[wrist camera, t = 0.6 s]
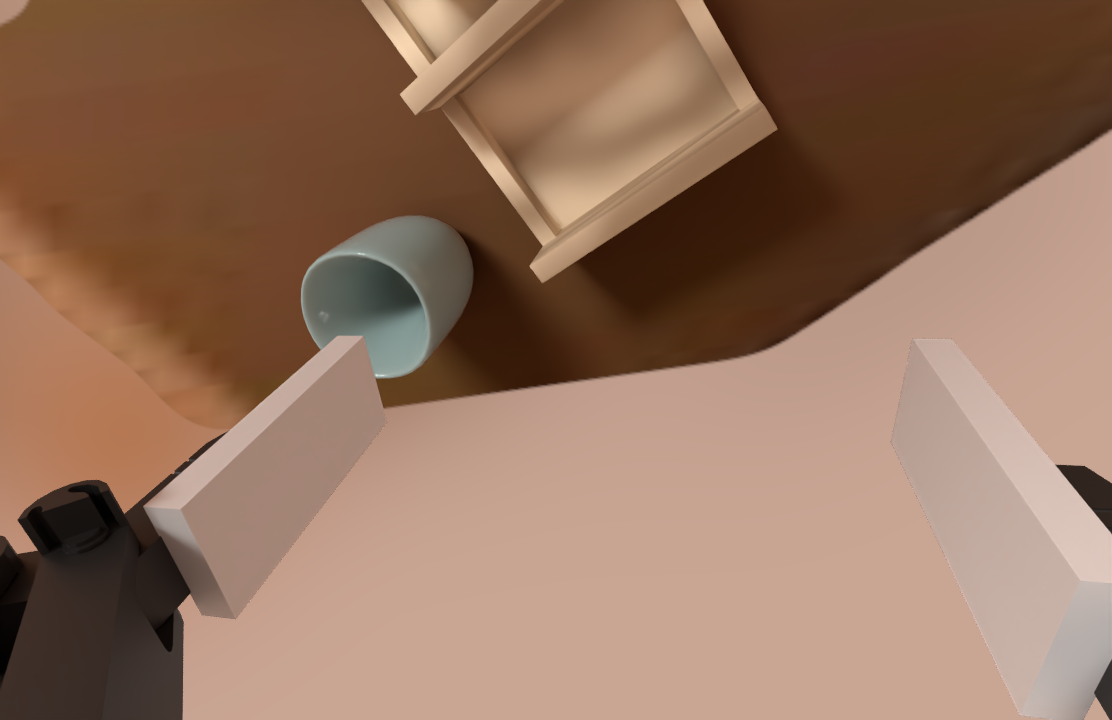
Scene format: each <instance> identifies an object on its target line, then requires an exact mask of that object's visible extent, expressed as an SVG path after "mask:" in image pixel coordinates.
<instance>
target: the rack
mask: <svg viewBox="0 0 1112 720" xmlns="http://www.w3.org/2000/svg"><path fill="white" fill-rule="evenodd" d="M362 2H363V3H364V5H365V6H366V7H367V9H368V10H369V11H370V13H371V14H372V15H373V17H374V18H375V19H376V21H377V22H378V23H379V25H380V26H381V28H382V29H383V30H384V32H385V33H386V34H387V36H388V37H389V38H390V40H391V41H392V42H393V44H394V45H395V47H396V48H397V49H398V51H399V52H400V53H401V55H402V56H403V57H404V59H405V60H406V61H407V63H408V64H409V65H410V67H411V68H412V70H413V71H414V72H415V74H416V75H417V76H418V78H417V79H415V80H414V81H413V82H412V83H411V84H410V85H409V86H408V87H407V88H406V89H405V90H404V91H403V92H402V93H401V94H400V95H401V97H402V98H403V99H404V101H405V102H406V103H407V105H408V106H409V107H410V109H411V110H412V111H413V113H414V114H415V115H418V114H421V113H424V112H427V111H430V110H433V109H436V108H439V107H441V109H442V110H443V111H444V113H445V114H446V116H447V117H448V118H449V120H450V121H451V122H452V124H453V125H454V126H455V128H456V129H457V130H458V132H459V133H460V134H461V136H462V137H463V139H464V140H465V141H466V143H467V144H468V145H469V147H470V148H471V149H472V151H473V152H474V153H475V155H476V156H477V157H478V159H479V160H480V162H481V163H482V164H483V166H484V167H485V168H486V170H487V171H488V172H489V174H490V175H491V176H492V178H493V179H494V180H495V182H496V183H497V185H498V186H499V187H500V189H501V190H502V191H503V193H504V194H505V195H506V197H507V198H508V199H509V201H510V202H511V203H512V205H513V206H514V208H515V209H516V210H517V212H518V213H519V214H520V216H521V217H522V218H523V220H524V221H525V222H526V224H527V225H528V227H529V228H530V229H531V231H532V232H533V233H534V235H535V236H536V237H537V239H538V240H539V241H540V243H541V244H542V245H543V247H542V249H541V250H540V251H539V253H538V254H537V256H536V257H535V259H534V260H533V262H532V263H531V265H530V267H531V269H532V270H533V271H534V273H535V274H536V275H537V277H538V278H539V279H540V281H541V282H542V283H544V282H545V281H547V280H548V279H550V278H551V277H553V276H554V275H556V274H557V273H559V272H560V271H562V270H563V269H565V268H566V267H568V266H570V265H571V264H573V263H574V262H576V261H577V260H579V259H580V258H582V257H583V256H585V255H586V254H588V253H589V252H591V251H592V250H594V249H595V248H597V247H599V246H600V245H602V244H603V243H605V242H606V241H608V240H609V239H611V238H612V237H614V236H615V235H617V234H618V233H620V232H621V231H623V230H624V229H626V228H628V227H629V226H631V225H632V224H634V223H635V222H637V221H638V220H640V219H641V218H643V217H644V216H646V215H647V214H649V213H650V212H652V211H654V210H655V209H657V208H658V207H660V206H661V205H663V204H664V203H666V202H667V201H669V200H670V199H672V198H673V197H675V196H676V195H678V194H679V193H681V192H683V191H684V190H686V189H687V188H689V187H690V186H692V185H693V184H695V183H696V182H698V181H699V180H701V179H702V178H704V177H705V176H707V175H708V174H710V173H712V172H713V171H715V170H716V169H718V168H719V167H721V166H722V165H724V164H725V163H727V162H728V161H730V160H731V159H733V158H734V157H736V156H738V155H739V154H741V153H742V152H744V151H745V150H747V149H748V148H750V147H751V146H753V145H754V144H756V143H757V142H759V141H760V140H762V139H763V138H765V137H767V136H768V135H770V134H771V133H773V132H774V131H776V130H777V127H776V125H775V123H774V122H773V120H772V118H771V116H770V114H769V113H768V111H767V109H766V107H765V106H764V105H763V104H762V102H761V101H760V100H759V99H758V98H757V96H756V94H755V92H754V90H753V89H752V87H751V85H750V83H749V82H748V80H747V78H746V76H745V75H744V73H743V71H742V69H741V67H740V66H739V64H738V62H737V60H736V59H735V57H734V55H733V53H732V52H731V50H730V48H729V46H728V44H727V43H726V41H725V39H724V37H723V36H722V34H721V32H720V30H719V29H718V27H717V25H716V23H715V21H714V20H713V18H712V16H711V14H710V13H709V11H708V9H707V7H706V6H705V4H704V2H703V0H362Z"/></svg>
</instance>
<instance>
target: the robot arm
mask: <svg viewBox="0 0 1112 720" xmlns="http://www.w3.org/2000/svg"><path fill="white" fill-rule="evenodd" d="M386 423H387V421H386V417H385V414H384V409H383V406H382V402H381V398H380V395H379V391H378V387H377V383H376V380H375V376H374V372H373V369H372V365H371V361H370V358H369V354H368V350H367V346H366V343H365V339H364V336H337V337H336V338H335V339H333V340H332V341H331V342H330V343H329V344H328V345H327V346H325V347H324V348H323V349H322V350H321V351H320V352H319V353H317V354H316V355H315V356H314V357H313V358H312V359H311V360H309V361H308V362H307V363H306V364H305V365H304V366H303V367H301V368H300V369H299V370H298V371H297V372H296V373H295V374H293V375H292V376H291V377H290V378H289V379H288V380H287V381H285V382H284V383H283V384H282V385H281V386H280V387H279V388H278V389H276V390H275V391H274V392H273V393H272V394H271V395H270V396H268V397H267V398H266V399H265V400H264V401H263V402H262V403H260V404H259V405H258V406H257V407H256V408H255V409H254V410H252V411H251V412H250V413H249V414H248V415H247V416H246V417H244V418H243V419H242V420H241V421H240V422H239V423H238V424H236V425H235V426H234V427H233V428H232V429H231V430H229V431H227V432H226V433H224V434H222V435H220V436H219V437H217V438H215V439H213V440H211V441H210V442H208V443H206V444H205V445H204V446H203V447H202V448H200V449H199V450H198V451H197V452H196V453H195V454H193V455H192V456H191V457H190V458H189V461H188V462H187V461H186V462H184V463H183V464H182V465H181V466H180V467H179V468H177V469H176V470H175V473H174V474H170V475H169V476H168V477H167V478H166V479H165V480H163V481H162V482H161V483H160V484H159V485H158V486H156V487H155V488H154V489H153V490H152V491H151V492H149V493H148V494H147V495H146V496H145V497H144V498H142V499H141V500H140V501H139V502H138V503H137V504H136V505H134V506H133V507H132V508H131V509H130V510H129V511H127V512H126V513H125V514H124V513H123V511H122V509H121V508H120V506H119V504H118V502H117V501H116V499H115V497H114V495H113V493H112V492H111V490H110V488H109V486H108V485H107V483H105V482H102V481H100V480H86V481H81V482H78V483H73V484H69V485H67V486H65V487H62V488H59V489H57V490H54V491H52V492H50V493H49V494H47V495H45V496H43V497H42V498H40V499H38V500H37V501H35V502H34V503H33V504H32V505H30V506H29V507H28V508H27V509H26V510H24V512H23V513H22V514H21V516H20V517H19V519H18V522H19V523H20V524H21V525H22V527H23V529H24V530H25V532H26V533H27V535H28V536H29V538H30V539H31V541H32V542H33V543H34V545H35V546H36V548H37V549H38V551H34V552H27V553H21V554H17V553H16V552H15V550H14V549H13V548H12V546H11V545H10V543H9V542H8V540H7V539H6V538H5V537H3V536H0V720H182V713H183V626H184V625H183V624H184V622H183V619H182V616H181V614H180V612H179V610H178V606H179V605H180V604H181V603H182V602H183V601H184V600H185V599H186V597H187V596H188V595H189V594H191V596H192V598H193V600H194V602H195V603H196V605H197V607H198V609H199V611H200V612H201V614H202V615H205V616H213V617H222V618H230V619H236V618H237V617H238V615H239V614H240V613H241V612H242V611H243V609H244V608H245V607H246V605H247V604H248V603H249V601H250V600H251V599H252V598H253V596H254V595H255V594H256V592H257V591H258V590H259V588H260V587H261V586H262V585H263V583H264V582H265V581H266V579H267V578H268V576H269V575H270V574H271V573H272V571H273V570H274V569H275V567H276V566H277V565H278V564H279V562H280V561H281V560H282V558H283V557H284V556H285V555H286V553H287V552H288V551H289V549H290V548H291V547H292V545H293V544H294V543H295V542H296V540H297V539H298V538H299V536H300V535H301V534H302V532H303V531H304V530H305V528H306V527H307V526H308V525H309V523H310V522H311V521H312V519H313V518H314V517H315V516H316V514H317V513H318V512H319V510H320V509H321V508H322V506H323V505H324V504H325V503H326V501H327V500H328V499H329V497H330V496H331V495H332V493H333V492H334V491H335V490H336V488H337V487H338V485H339V484H340V483H341V482H342V480H343V479H344V478H345V476H346V475H347V474H348V473H349V471H350V470H351V469H352V467H353V466H354V465H355V463H356V462H357V461H358V460H359V458H360V457H361V456H362V454H363V453H364V452H365V450H366V449H367V448H368V447H369V445H370V444H371V443H372V441H373V440H374V439H375V437H376V436H377V435H378V434H379V432H380V431H381V430H382V428H383V427H384V426H385V424H386ZM891 443H892V446H893V448H894V449H895V452H896V454H897V456H898V458H899V460H900V463H901V465H902V467H903V469H904V471H905V473H906V475H907V477H908V479H909V481H910V484H911V486H912V488H913V490H914V492H915V494H916V496H917V499H918V501H919V503H920V505H921V507H922V509H923V511H924V513H925V516H926V518H927V520H928V522H929V524H930V526H931V528H932V530H933V532H934V535H935V537H936V539H937V541H938V543H939V545H940V547H941V549H942V552H943V554H944V556H945V558H946V560H947V562H948V564H949V566H950V568H951V571H952V573H953V575H954V577H955V579H956V581H957V583H958V586H959V588H960V590H961V592H962V594H963V596H964V598H965V600H966V603H967V605H968V607H969V609H970V611H971V613H972V615H973V617H974V620H975V622H976V624H977V626H978V628H979V630H980V632H981V634H982V636H983V639H984V641H985V643H986V645H987V647H988V649H989V651H990V653H991V656H992V658H993V660H994V662H995V664H996V666H997V668H998V670H999V672H1000V674H1001V676H1002V679H1003V681H1004V683H1005V685H1006V687H1007V690H1008V692H1009V694H1010V696H1011V698H1012V700H1013V702H1014V704H1015V706H1016V709H1017V711H1018V713H1019V715H1020V716H1027V717H1036V718H1044V719H1052V720H1084V718H1085V716H1086V714H1087V712H1088V710H1089V708H1090V706H1091V705H1092V703H1093V701H1094V699H1095V697H1097V699H1098V701H1099V702H1100V704H1101V706H1102V707H1103V709H1104V711H1105V712H1106V714H1107V716H1108V717H1109V719H1110V720H1112V483H1110V482H1109V481H1107V480H1105V479H1104V478H1102V477H1101V476H1099V475H1098V474H1096V473H1095V472H1093V471H1092V470H1090V469H1088V468H1087V467H1085V466H1071V465H1055V464H1054V463H1053V462H1052V461H1051V459H1050V458H1049V457H1048V456H1047V455H1046V453H1045V452H1044V451H1043V450H1042V449H1041V447H1040V446H1039V445H1038V444H1037V442H1036V441H1035V440H1034V439H1033V437H1032V436H1031V435H1030V434H1029V433H1028V431H1027V430H1026V429H1025V428H1024V426H1023V425H1022V424H1021V423H1020V422H1019V420H1018V419H1017V418H1016V417H1015V416H1014V414H1013V413H1012V412H1011V411H1010V409H1009V408H1008V407H1007V406H1006V405H1005V403H1004V402H1003V401H1002V400H1001V398H1000V397H999V396H998V395H997V393H996V392H995V391H994V390H993V389H992V387H991V386H990V385H989V384H988V382H987V381H986V380H985V379H984V378H983V376H982V375H981V374H980V373H979V372H978V370H977V369H976V368H975V367H974V365H973V364H972V363H971V362H970V361H969V359H968V358H967V357H966V356H965V355H964V353H963V352H962V351H961V350H960V348H959V347H958V346H957V345H956V343H955V342H954V341H953V340H952V339H912V343H911V347H910V352H909V357H908V362H907V366H906V371H905V377H904V381H903V386H902V391H901V395H900V401H899V405H898V410H897V415H896V420H895V424H894V429H893V434H892V439H891Z"/></svg>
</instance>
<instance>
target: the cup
mask: <svg viewBox="0 0 1112 720" xmlns="http://www.w3.org/2000/svg"><path fill="white" fill-rule="evenodd" d="M472 286H473V263H472V257H471V254H470V252H469V249H468V246H467V245H466V243H465V241H464V240H463V238H462V237H461V235H460V234H459V233H458V232H457V231H456V230H455V229H454V228H452V227H451V226H450V225H448V224H447V223H445V222H443V221H441V220H439V219H435V218H432V217H428V216H419V215H408V216H399V217H395V218H391V219H388V220H384V221H381V222H379V223H376V224H374V225H372V226H370V227H368V228H366V229H365V230H363V231H361V232H359V233H357V234H355V235H354V236H352V237H350V238H348V239H347V240H345V241H343V242H342V243H340V244H338V245H337V246H335V247H334V248H332V249H330V250H329V251H327V252H326V253H324V254H323V255H322V256H320V257H319V258H318V259H317V260H316V261H315V262H314V263H313V264H312V265H311V266H310V267H309V268H308V270H307V272H306V274H305V276H304V278H303V283H302V288H301V305H302V311H303V316H304V319H305V322H306V325H307V328H308V330H309V332H310V334H311V336H312V338H313V340H314V341H315V342H316V344H317V345H318V347H319V348H320V349H321V350H322V349H323V348H324V347H325V346H327V345H328V344H329V343H330V342H331V341H332V340H333V339H335V338H336V337H337V336H364V339H365V343H366V346H367V350H368V354H369V358H370V361H371V365H372V369H373V372H374V376H375V378H395V377H400V376H404V375H406V374H409V373H411V372H413V371H415V370H416V369H417V368H419V367H420V366H421V365H423V364H424V363H425V362H426V361H427V360H428V359H429V358H430V357H431V355H432V354H433V353H434V352H435V350H436V349H437V348H438V347H439V345H440V344H441V343H442V342H443V340H444V339H445V338H446V336H447V335H448V334H449V332H450V331H451V329H452V328H453V327H454V325H455V324H456V323H457V321H458V320H459V318H460V317H461V315H462V313H463V311H464V310H465V307H466V305H467V303H468V300H469V298H470V295H471V291H472Z"/></svg>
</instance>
